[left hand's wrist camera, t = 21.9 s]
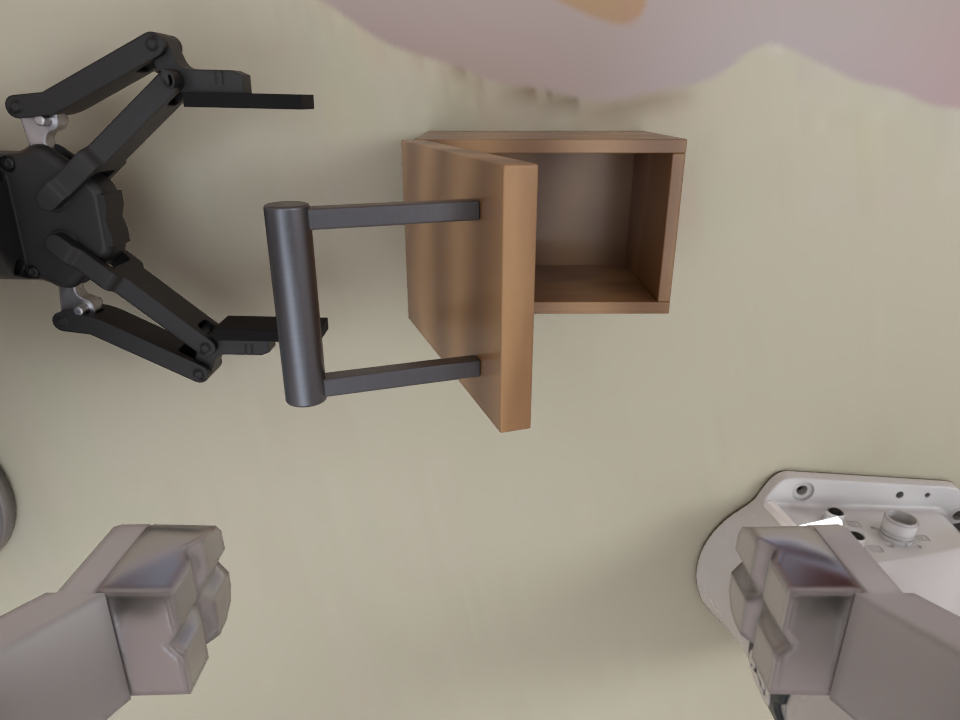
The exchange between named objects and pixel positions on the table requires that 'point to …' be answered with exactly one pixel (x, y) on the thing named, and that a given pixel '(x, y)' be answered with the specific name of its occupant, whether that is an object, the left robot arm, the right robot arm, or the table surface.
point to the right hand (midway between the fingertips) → (317, 222)
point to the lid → (427, 280)
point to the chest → (596, 214)
